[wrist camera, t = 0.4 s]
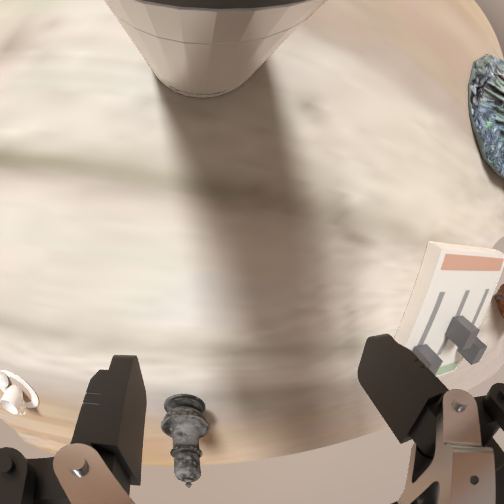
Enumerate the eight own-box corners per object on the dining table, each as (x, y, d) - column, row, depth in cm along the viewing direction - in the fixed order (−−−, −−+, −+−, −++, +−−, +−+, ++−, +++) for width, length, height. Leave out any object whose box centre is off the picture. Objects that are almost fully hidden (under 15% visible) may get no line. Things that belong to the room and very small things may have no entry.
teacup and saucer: (-15, 363, 26) (-25, 380, 23) (18, 364, 27) (7, 384, 24) (14, 404, 30) (7, 421, 26) (48, 407, 31) (41, 427, 27)
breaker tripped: (453, 316, 33) (471, 332, 29) (462, 315, 33) (479, 330, 30) (445, 334, 34) (461, 350, 30) (454, 332, 34) (470, 347, 31)
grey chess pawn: (216, 408, 34) (228, 487, 23) (183, 424, 35) (188, 499, 24) (185, 386, 32) (189, 473, 21) (152, 404, 32) (148, 485, 21)
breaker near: (414, 346, 33) (431, 364, 29) (426, 343, 33) (443, 361, 30) (406, 363, 34) (421, 381, 30) (418, 360, 34) (433, 378, 31)
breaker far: (464, 335, 35) (479, 349, 32) (472, 333, 36) (487, 346, 32) (456, 350, 36) (471, 364, 33) (464, 348, 37) (478, 361, 33)
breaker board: (428, 241, 30) (442, 249, 28) (496, 249, 34) (507, 255, 32) (373, 381, 38) (381, 392, 36) (448, 362, 42) (456, 370, 39)
